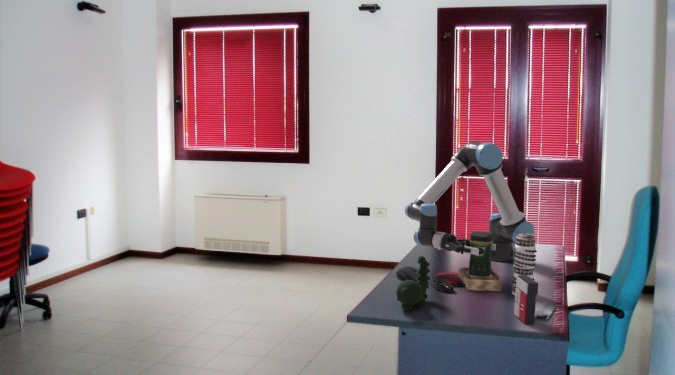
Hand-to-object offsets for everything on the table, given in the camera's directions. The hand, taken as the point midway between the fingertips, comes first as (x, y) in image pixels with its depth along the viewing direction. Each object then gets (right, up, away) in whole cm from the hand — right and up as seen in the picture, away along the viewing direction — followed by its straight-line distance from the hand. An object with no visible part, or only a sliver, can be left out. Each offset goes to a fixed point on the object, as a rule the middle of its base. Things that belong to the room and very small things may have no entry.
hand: (486, 249), depth 270 cm
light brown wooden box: (-2, -15, +4) cm, 16 cm away
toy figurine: (-35, -19, -28) cm, 48 cm away
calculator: (+4, -21, -42) cm, 47 cm away
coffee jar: (-2, -11, +4) cm, 12 cm away
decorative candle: (+12, -17, -10) cm, 23 cm away
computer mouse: (-26, -15, +3) cm, 31 cm away
